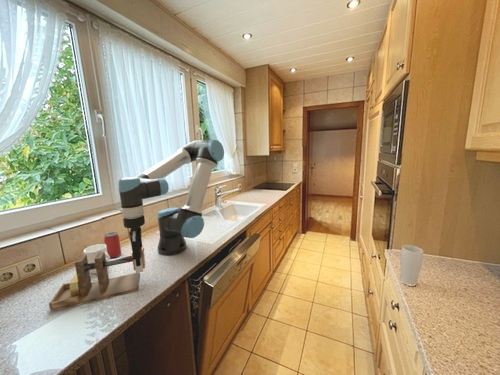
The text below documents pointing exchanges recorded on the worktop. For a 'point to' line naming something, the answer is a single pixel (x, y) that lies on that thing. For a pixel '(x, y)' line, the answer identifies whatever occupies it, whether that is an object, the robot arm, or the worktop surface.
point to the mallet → (117, 261)
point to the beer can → (112, 244)
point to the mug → (95, 254)
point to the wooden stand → (93, 285)
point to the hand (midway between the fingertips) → (140, 268)
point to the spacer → (75, 287)
